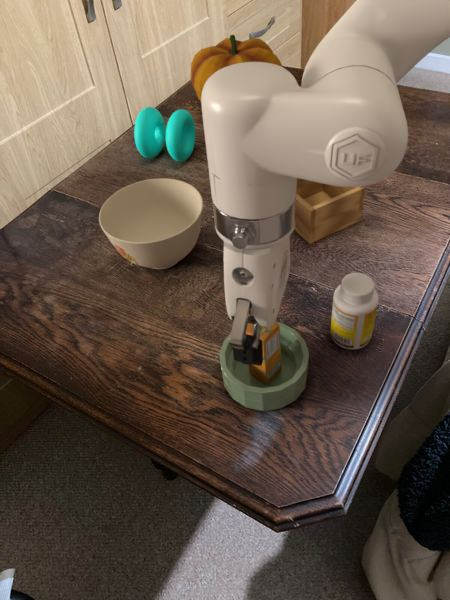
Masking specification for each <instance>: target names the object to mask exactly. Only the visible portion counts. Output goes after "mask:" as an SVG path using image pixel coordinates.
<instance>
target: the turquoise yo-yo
mask: <svg viewBox="0 0 450 600" xmlns="http://www.w3.org/2000/svg"><path fill="white" fill-rule="evenodd" d="M133 130H134V132H133V137H134V143H135V147H136V149H137V151H138V153H139V154H140V155H141V156H142V157H144V158H146V159H153V158H156V157H157V156H159V154H160V153H161V152H162V150H163V148H164V145H165V146H166V149H167V152H168V154H169V156H170V157H171V158H172V159H173V160H174V161H176V162H181V163H182V162H185V161H187V160H188V159H189V158H190V157H191V155H192V153H193V151H194V147H195V144H196V143H195V142H196V124H195V120H194V117H193V116H192V114H191V113H190V112H189V110H186V109H184V108H183V109H177V110H175V111H174V112H172V114H171V115H170V117H169V118H168V121H167V123H165V119H164V117H163V115H162V113H161V112H160V111H159V110H158V109H157V108H156V107H153V106H147V107H144V108H143V109H141V110H140V112H139V113H138V114H137V116H136V119H135V123H134V129H133Z"/></svg>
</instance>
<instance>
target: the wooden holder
mask: <svg viewBox="0 0 450 600" xmlns="http://www.w3.org/2000/svg"><path fill="white" fill-rule="evenodd" d="M365 194H366V186H362V187H340V186H333V185H327V184H323V183H318V182H314V181H309V180H304V179H300V178H297V188H296V214H295V227H294V230H293V231H295V232H296V233H297V234H298V235H299V236H300V237H301V238H302V239H304V240H305V241H306V243H308V244H309V245H312V244H313V243H315V242H318V241H320V240H322V239H324V238H326V237H328V236H331V235H333V234H335V233H337V232H339V231H342V230H344V229H346V228H348V227H351V226H353V225H355V224H357V223H359V222H361V221H362V218H363V217H362V215H363V209H364V201H365Z"/></svg>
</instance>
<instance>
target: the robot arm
mask: <svg viewBox="0 0 450 600" xmlns="http://www.w3.org/2000/svg"><path fill="white" fill-rule="evenodd" d="M449 38H450V0H355V1H354V2H353V4H352V5H350V7H349V8H348V9H347V10H346V11H345V12H344V13H343V15H342V16H341V17H340V18H339V20H338V21H337V22H335V24H334V25H333V26H332V27H331V28H330V29H329V31H328V32H327V33H326V34H325V36H324V37H323V38H322V39H321V40H320V41H319V43H318V44H317V45H316V47H315V49H314V50H313V52H312V53H311V55H310V57H309V59H308V60H307V63H306V64H305V67H304V70H303V74H302V78H301V84H300V85H299V83H298V82H297V79H296V78H295V76H294V75H293V74H292V73H291V72H290V71H289V70H287V69H286V68H285V67H283V66H282V67H281V66H278V65H275V64H272V63H266V62H244V63H238V64H233V65H230V66H227V67H224V68H222V69H220V70H218V71H217V72H215V73H214V74H213V75H212V76H210V77H209V78H208V80H207V81H206V83H205V85H204V87H203V91H202V95H201V101H200V104H201V116H202V125H203V132H204V143H205V150H206V151H205V152H206V158H207V168H208V176H209V177H208V178H209V186H210V194H211V202H212V211H213V220H214V229H215V232H216V234H217V235H218V237H219V238H220V239H221V240H222V241H223V259H222V260H223V285H224V287H223V288H224V299H225V300H224V301H225V309H226V312H227V316H228V318H229V320H230V321H232V324H231V325H232V326H231V331H230V334H231V335H230V334H229V335H230V339H229V344H230V345H231V347H232V348H233V355H234V360H235V361H238V362H241V363H243V364H247V365H252V364H253V365H258V366H261V365H262V362H263V342H262V340H260V332H261V326H263V327H270V326H272V325H273V324H274V323H275V322H277V317H278V315H279V311H280V308H281V304H282V301H283V297H284V294H285V291H286V287H287V283H288V279H289V275H290V271H291V235H292V234H293V232H294V231H295V230H294V227H295V214H296V188H297V178H300V179H304V180H309V181H314V182H318V183H323V184H327V185H333V186H340V187H362V186H364V187H366V186H371V185H374V184H377V183H379V182H381V181H383V180H385V179H386V178H388V177H390V175H392V174H393V173H394V172H395V171H396V170H397V169H398V167H399V166H400V164H401V162H402V161H403V159H404V158H405V155H406V152H407V150H408V149H407V148H408V143H409V127H408V122H407V117H406V114H405V111H404V107H403V103H402V99H401V95H400V92H399V87H398V83H399V82H400V81H401V80H402V79H403V78H404V77H405V76H406V75H407V74H408V73H409V72H410V71H411V70H413V68H415V66H417V65H418V64H419V63H420V62H421V61H422V60H423V59H424V58H425V57H426V56H428V55H429V54H430V53H431V52H432V51H433V50H435V49H436V48H438V46H440V45H442V43H444V42H445V41H447V40H448V39H449ZM251 314H252V315H251ZM248 323H250V324H255V325H254V332H253V335H247V334H246V330H247V325H248Z"/></svg>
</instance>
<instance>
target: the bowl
mask: <svg viewBox="0 0 450 600" xmlns="http://www.w3.org/2000/svg"><path fill="white" fill-rule="evenodd" d="M203 212H204V199H203V196H202V195H201V193H200V192H199V191H198V189H197V188H196V187H194V186H193V185H191V184H189V183H188V182H186V181H183V180H180V179H174V178H167V177H165V178H162V177H161V178H150V179H144V180H140V181H137V182H133V183H131V184H128V185H126V186H124V187H122V188H120V189H119V190H117V191H116V192H114V193H113V194H111V195H110V196H109V197H108V198H107V199H106V201H104V203H103V204H102V206H101V208H100V211H99V214H98V222H99V226H100V228H101V230H102V231H103V233H104V234H105V235H106V237H107V239H108V240H109V241H110V243H111V245H112V246H113V248H115V250H116V251H117V252H118V254H120V255H121V256H122V257H123V258H124V259H126V260H127V261H128V262H130V263H132V264H134V265H136V266H139V267H143V268H148V269H152V270H153V269H154V270H166V269H169V268H172V267H174V266H175V265H176V264H178V262H181V260H183V259H185V257H187V256H188V255H189V254H190V253H191V252H192V250H193V249H194V247H195V246H196V244H197V242H198V239H199V237H200V233H201V227H202V220H203Z"/></svg>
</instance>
